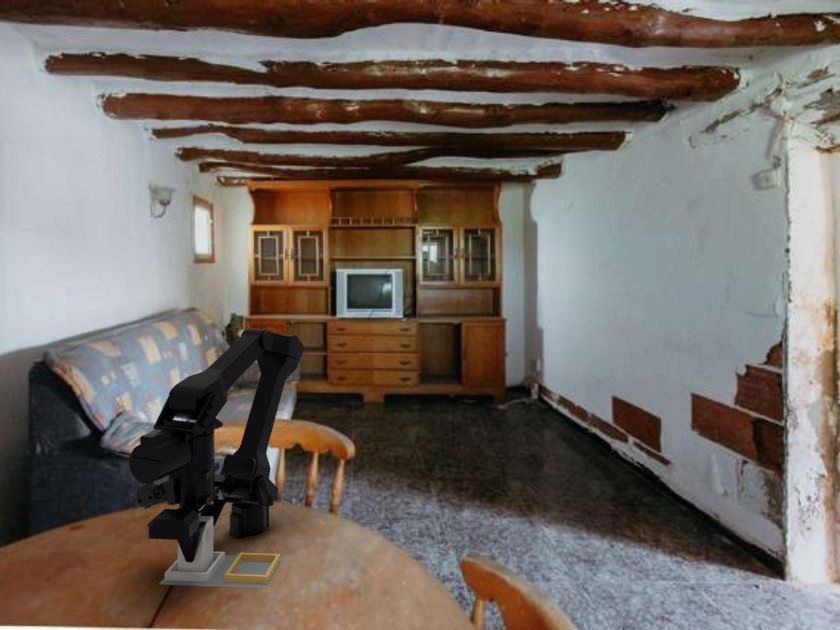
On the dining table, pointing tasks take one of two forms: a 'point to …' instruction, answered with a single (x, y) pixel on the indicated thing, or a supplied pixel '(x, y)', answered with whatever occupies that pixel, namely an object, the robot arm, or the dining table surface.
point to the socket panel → (229, 571)
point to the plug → (200, 550)
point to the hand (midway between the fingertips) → (196, 554)
